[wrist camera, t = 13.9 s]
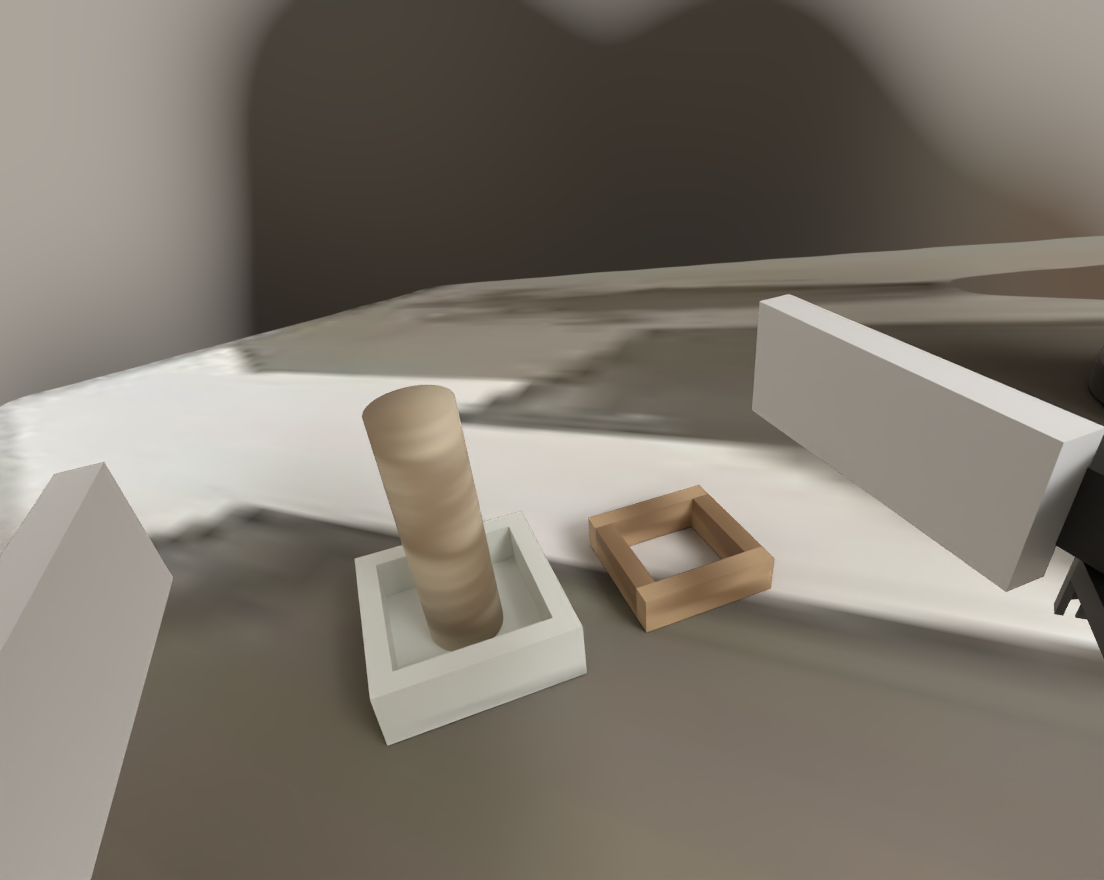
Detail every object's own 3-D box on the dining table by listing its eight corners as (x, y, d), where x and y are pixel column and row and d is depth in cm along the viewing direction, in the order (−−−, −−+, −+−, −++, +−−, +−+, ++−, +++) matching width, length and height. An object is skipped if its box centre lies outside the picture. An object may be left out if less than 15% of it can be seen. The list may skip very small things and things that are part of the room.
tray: (527, 552, 35) (521, 510, 34) (586, 673, 28) (582, 626, 26) (368, 601, 33) (354, 558, 32) (387, 745, 26) (370, 699, 24)
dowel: (492, 586, 32) (444, 377, 26) (512, 635, 29) (464, 413, 23) (424, 609, 31) (358, 399, 25) (437, 662, 28) (366, 439, 22)
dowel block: (697, 512, 37) (698, 484, 36) (770, 588, 31) (774, 558, 30) (590, 545, 35) (588, 518, 34) (646, 632, 30) (645, 602, 28)
